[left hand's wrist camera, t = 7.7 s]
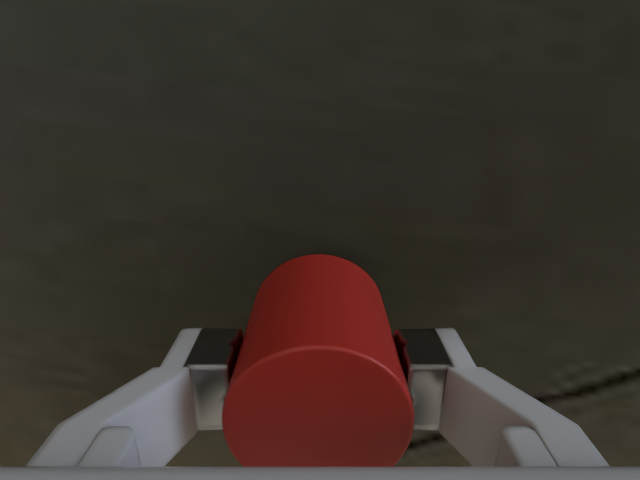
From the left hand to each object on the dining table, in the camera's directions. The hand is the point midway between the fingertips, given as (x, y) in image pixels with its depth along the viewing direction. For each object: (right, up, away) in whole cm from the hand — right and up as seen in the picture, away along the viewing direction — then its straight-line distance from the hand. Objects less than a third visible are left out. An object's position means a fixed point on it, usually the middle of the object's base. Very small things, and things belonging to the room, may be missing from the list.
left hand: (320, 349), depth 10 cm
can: (0, +1, +2) cm, 2 cm away
